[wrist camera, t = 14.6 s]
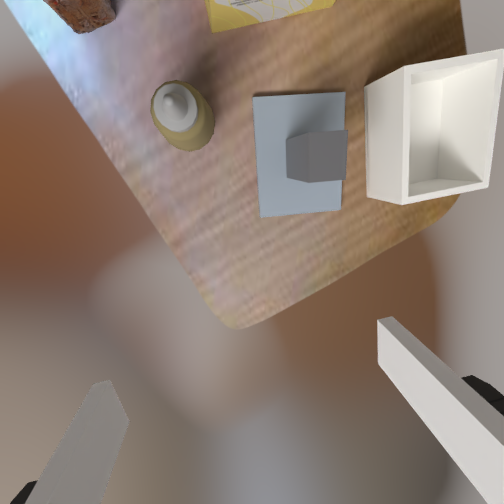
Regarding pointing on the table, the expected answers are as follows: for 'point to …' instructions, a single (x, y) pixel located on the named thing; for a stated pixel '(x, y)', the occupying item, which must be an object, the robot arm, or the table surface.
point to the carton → (432, 128)
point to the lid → (300, 152)
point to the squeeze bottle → (182, 115)
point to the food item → (83, 13)
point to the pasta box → (256, 11)
